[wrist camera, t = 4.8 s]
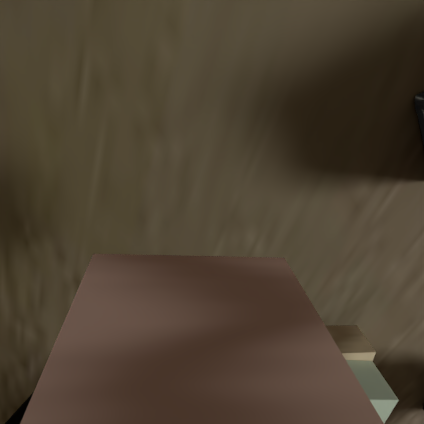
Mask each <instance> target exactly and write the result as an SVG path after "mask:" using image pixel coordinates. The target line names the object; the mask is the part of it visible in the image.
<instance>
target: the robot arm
mask: <svg viewBox="0 0 424 424" xmlns="http://www.w3.org/2000/svg"><path fill="white" fill-rule="evenodd" d="M33 393H34V392H33ZM33 393H32V394H31V395H30V397H29V398H28V399H27V400H26V401H25V402H24V403H23V404H22V405H21V406H20V408H19V409H18V410H17V411H16V412H15V413H14V414H13V415H12V416H11V417H10V418H9V420H8V421H7V422H6V423H5V424H20V423H21V421H22V418H23V416H24V414H25V411H26V409H27V407H28V404H29V402H30V400H31V397H32V395H33ZM423 410H424V407H423Z"/></svg>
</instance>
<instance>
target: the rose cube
mask: <svg viewBox="0 0 424 424" xmlns="http://www.w3.org/2000/svg"><path fill="white" fill-rule="evenodd" d="M20 424H384V423H383V421H382V420H381V418H380V416H379V415H378V413H377V411H376V410H375V408H374V406H373V405H372V403H371V401H370V400H369V398H368V396H367V395H366V393H365V391H364V390H363V388H362V386H361V385H360V383H359V381H358V380H357V378H356V376H355V375H354V373H353V371H352V370H351V368H350V366H349V365H348V363H347V361H346V360H345V358H344V356H343V355H342V353H341V351H340V350H339V348H338V346H337V345H336V343H335V341H334V340H333V338H332V336H331V335H330V333H329V331H328V330H327V328H326V326H325V325H324V323H323V321H322V320H321V318H320V316H319V315H318V313H317V311H316V310H315V308H314V306H313V305H312V303H311V301H310V300H309V298H308V296H307V295H306V293H305V291H304V290H303V288H302V286H301V285H300V283H299V281H298V280H297V278H296V276H295V275H294V273H293V271H292V270H291V268H290V266H289V265H288V263H287V261H286V260H285V258H272V257H222V256H172V255H123V254H93V256H92V258H91V261H90V263H89V265H88V267H87V270H86V272H85V274H84V277H83V279H82V281H81V284H80V286H79V288H78V291H77V293H76V295H75V298H74V300H73V302H72V305H71V307H70V309H69V312H68V314H67V316H66V319H65V321H64V323H63V325H62V328H61V330H60V332H59V335H58V337H57V339H56V342H55V344H54V346H53V349H52V351H51V353H50V356H49V358H48V360H47V363H46V365H45V367H44V370H43V372H42V374H41V377H40V379H39V381H38V383H37V386H36V388H35V390H34V393H33V395H32V397H31V400H30V402H29V404H28V407H27V409H26V411H25V414H24V416H23V418H22V421H21V423H20Z"/></svg>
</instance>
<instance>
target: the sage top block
mask: <svg viewBox="0 0 424 424" xmlns="http://www.w3.org/2000/svg"><path fill="white" fill-rule="evenodd" d="M346 361H347V363H348V365H349V366H350V368H351V370H352V371H353V373H354V375H355V376H356V378H357V380H358V381H359V383H360V385H361V386H362V388H363V390H364V391H365V393H366V395H367V396H368V398H369V400H370V401H371V403H372V405H373V406H374V408H375V410H376V411H377V413H378V415H379V416H380V418H381V420H382V421H383V423H385V421H386V420H387V418H388V417H389V415H390V413H391V412H392V410H393V409H394V407H395V405H396V404H397V402H398V401H399V399H398V398H397V397H396V395H395V394H394V392H393V391H392V389H391V388H390V386H389V385H388V383H387V382H386V380H385V379H384V378H383V376H382V375H381V373H380V372H379V370H378V369H377V367H376V366H375V364H374V363H373V361H357V360H346Z"/></svg>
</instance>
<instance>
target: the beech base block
mask: <svg viewBox="0 0 424 424" xmlns="http://www.w3.org/2000/svg"><path fill="white" fill-rule="evenodd" d="M326 328H327V330H328V331H329V333H330V335H331V336H332V338H333V340H334V341H335V343H336V345H337V346H338V348H339V350H340V351H341V353H342V355H343V356H344V358H345V360H357V361H373V359H374V356H375V354H376V351H375V350H374V349H373V347H372V346H371V344H370V343H369V342H368V340H367V339H366V338H365V336H364V335H363V333H362V332H361V331H360V329H359V328H358V326H357V325H343V326H326Z"/></svg>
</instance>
